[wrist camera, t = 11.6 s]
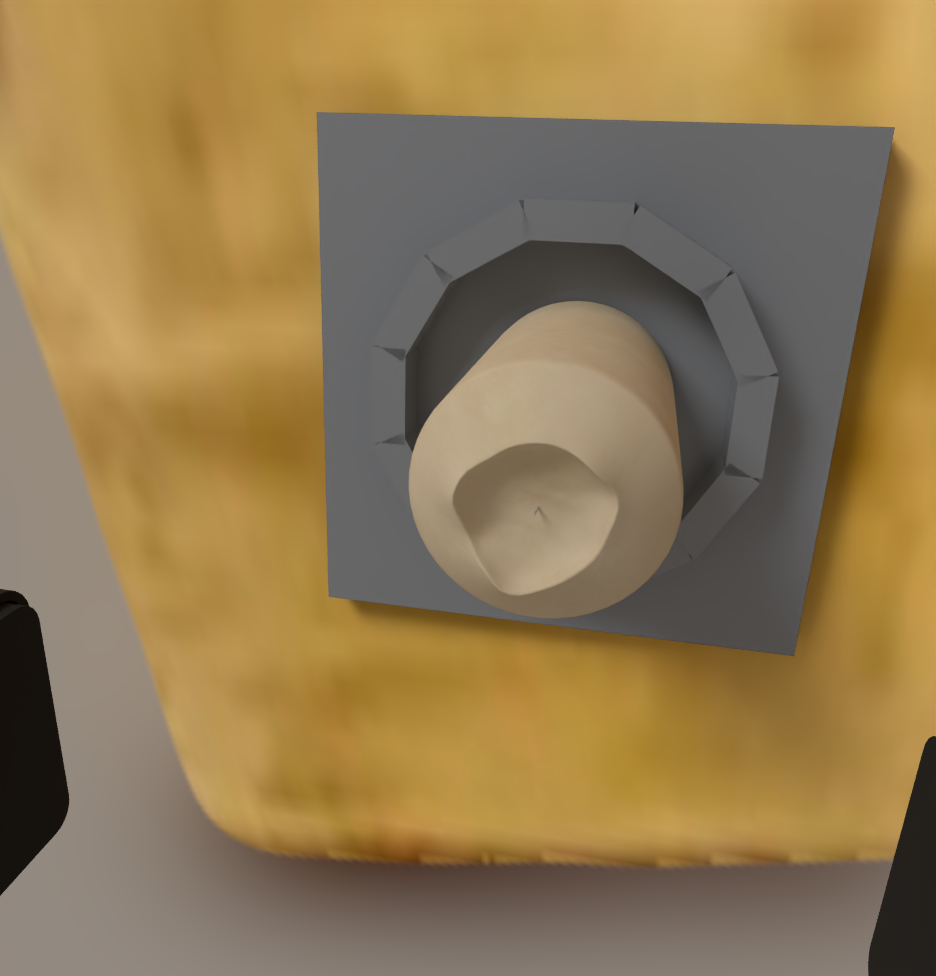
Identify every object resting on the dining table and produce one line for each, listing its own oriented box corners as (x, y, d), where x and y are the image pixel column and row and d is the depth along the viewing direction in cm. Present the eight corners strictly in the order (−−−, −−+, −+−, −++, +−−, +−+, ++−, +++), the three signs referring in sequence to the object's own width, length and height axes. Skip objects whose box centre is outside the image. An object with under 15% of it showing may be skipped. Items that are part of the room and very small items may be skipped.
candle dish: (884, 129, 22) (911, 124, 20) (788, 639, 27) (801, 682, 25) (329, 114, 25) (296, 108, 22) (338, 584, 30) (312, 617, 28)
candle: (621, 512, 26) (605, 699, 17) (455, 437, 26) (350, 582, 17) (708, 346, 24) (743, 456, 15) (527, 266, 24) (450, 325, 15)
